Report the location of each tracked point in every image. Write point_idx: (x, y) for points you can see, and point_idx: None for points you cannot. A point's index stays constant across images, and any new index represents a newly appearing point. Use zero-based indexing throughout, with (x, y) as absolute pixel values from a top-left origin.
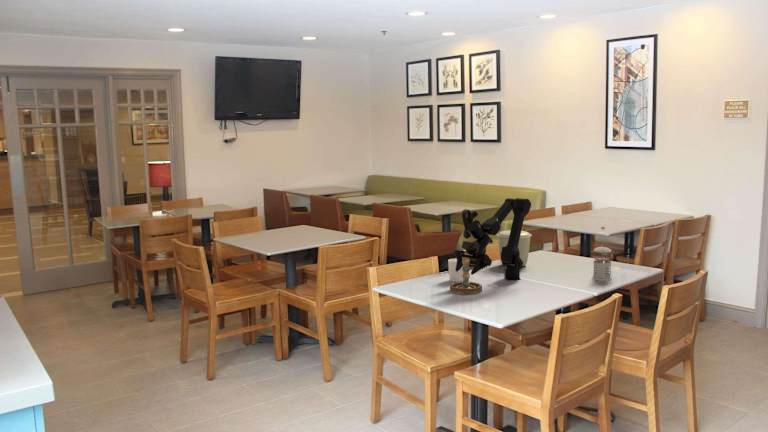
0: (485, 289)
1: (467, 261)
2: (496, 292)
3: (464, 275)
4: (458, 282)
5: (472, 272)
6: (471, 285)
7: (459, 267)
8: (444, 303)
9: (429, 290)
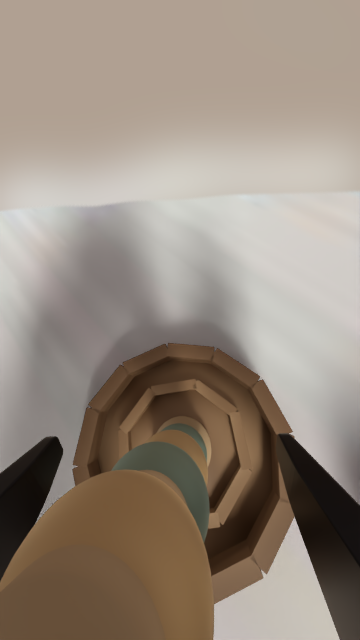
0: None
1: (23, 544)
2: None
3: (158, 437)
4: None
5: (32, 453)
6: None
7: (308, 530)
8: (102, 222)
9: (312, 297)
